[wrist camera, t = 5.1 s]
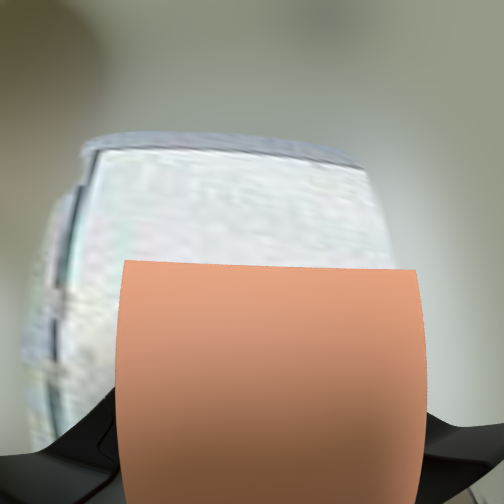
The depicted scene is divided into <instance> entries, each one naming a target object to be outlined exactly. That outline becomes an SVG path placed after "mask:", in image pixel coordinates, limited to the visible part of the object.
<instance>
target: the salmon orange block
mask: <svg viewBox="0 0 504 504" xmlns="http://www.w3.org/2000/svg"><path fill="white" fill-rule="evenodd" d="M115 399H116V423H117V437H118V448H119V457H120V465H121V473H122V479H123V486H124V492H125V497H126V502H127V504H415V500H416V495H417V490H418V485H419V480H420V474H421V467H422V460H423V453H424V443H425V432H426V417H427V361H426V344H425V333H424V322H423V314H422V306H421V299H420V292H419V286H418V280H417V274H416V270H390V269H341V268H304V267H272V266H244V265H219V264H195V263H174V262H153V261H134V260H125V261H124V268H123V275H122V283H121V291H120V301H119V311H118V323H117V338H116V362H115Z"/></svg>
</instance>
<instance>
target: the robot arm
mask: <svg viewBox="0 0 504 504" xmlns="http://www.w3.org/2000/svg"><path fill="white" fill-rule="evenodd" d="M0 504H127V502H126V497H125V492H124V486H123V479H122V473H121V465H120V457H119V448H118V437H117V423H116V399H115V387H114V388H113V389H112V390H111V391H110V392H109V393H108V394H107V395H106V396H105V398H103V399H102V400H101V401H100V402H99V403H98V404H97V405H96V406H95V407H94V408H93V409H92V410H91V411H90V412H89V413H88V414H87V415H86V416H85V417H84V418H83V419H82V420H80V421H79V422H78V423H77V424H76V425H75V426H73V427H72V428H71V429H70V430H68V431H67V432H66V433H65V434H63V435H62V436H61V437H60V438H58V439H57V440H56V441H55V442H53V443H52V444H51V445H49V446H48V447H46V448H44V449H43V450H40V451H38V452H34V453H29V454H19V455H8V456H0ZM415 504H504V423H501V424H493V425H484V426H475V427H474V426H473V427H457V426H453V425H450V424H448V423H446V422H444V421H442V420H440V419H438V418H436V417H435V416H433V415H431V414H429V413H428V412H427V417H426V432H425V443H424V453H423V460H422V467H421V474H420V480H419V485H418V490H417V495H416V500H415Z"/></svg>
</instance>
